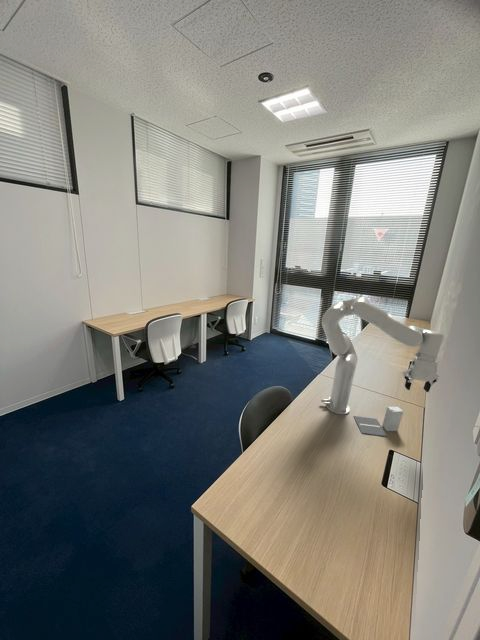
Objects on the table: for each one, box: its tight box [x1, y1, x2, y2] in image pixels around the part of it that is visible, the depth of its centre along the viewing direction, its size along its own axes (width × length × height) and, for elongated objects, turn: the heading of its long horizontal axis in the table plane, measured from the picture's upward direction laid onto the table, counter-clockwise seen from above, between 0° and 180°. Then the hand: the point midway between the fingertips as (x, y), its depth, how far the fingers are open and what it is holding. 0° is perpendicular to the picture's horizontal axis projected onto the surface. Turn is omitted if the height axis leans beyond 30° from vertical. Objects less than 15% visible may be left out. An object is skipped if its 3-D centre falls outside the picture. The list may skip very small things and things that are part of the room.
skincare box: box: [381, 406, 404, 432], centre depth 132 cm, size 6×4×12 cm
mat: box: [353, 415, 388, 438], centre depth 134 cm, size 12×13×1 cm
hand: (416, 389), depth 126 cm, fingers open, 8 cm apart
